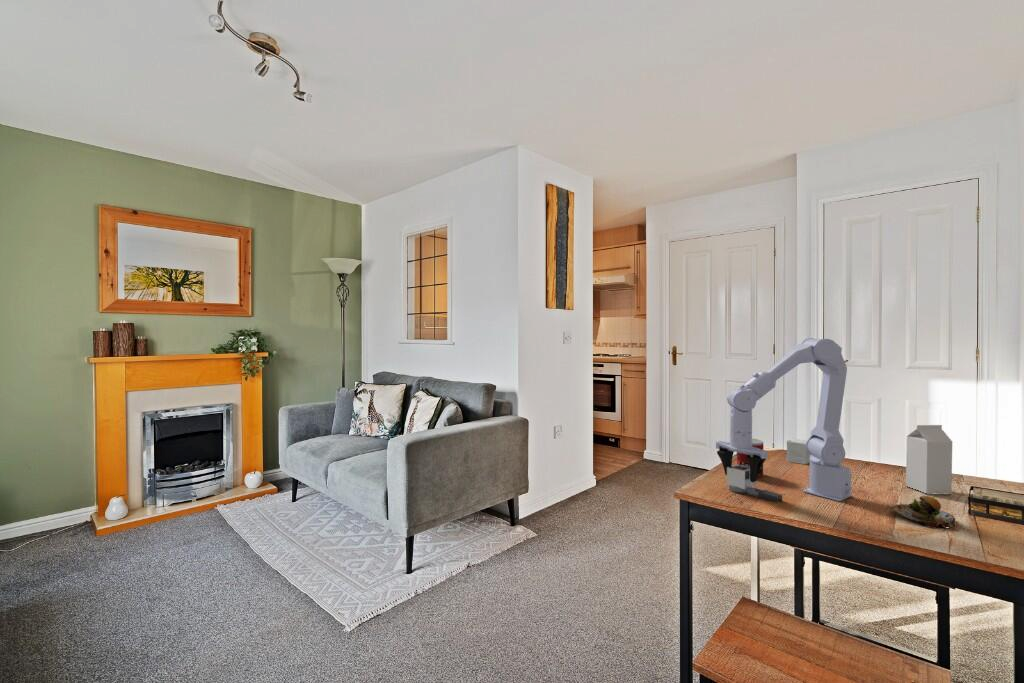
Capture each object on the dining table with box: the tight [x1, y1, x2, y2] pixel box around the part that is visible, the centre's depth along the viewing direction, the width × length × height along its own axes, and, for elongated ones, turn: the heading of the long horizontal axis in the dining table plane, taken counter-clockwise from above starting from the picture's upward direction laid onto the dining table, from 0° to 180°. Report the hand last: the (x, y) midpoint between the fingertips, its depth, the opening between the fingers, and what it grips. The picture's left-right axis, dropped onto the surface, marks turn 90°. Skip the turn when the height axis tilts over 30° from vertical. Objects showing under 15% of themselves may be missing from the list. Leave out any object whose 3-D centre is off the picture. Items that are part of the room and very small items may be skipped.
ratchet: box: [728, 485, 783, 504], centre depth 135 cm, size 14×6×5 cm, turn 34°
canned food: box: [736, 437, 764, 479], centre depth 153 cm, size 8×8×11 cm
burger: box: [892, 491, 956, 529], centre depth 117 cm, size 12×12×8 cm
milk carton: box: [905, 424, 953, 495], centre depth 137 cm, size 7×7×19 cm
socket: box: [726, 463, 756, 489], centre depth 138 cm, size 5×5×5 cm
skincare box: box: [786, 438, 810, 465], centre depth 168 cm, size 6×6×7 cm
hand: (740, 477), depth 138 cm, fingers open, 7 cm apart
